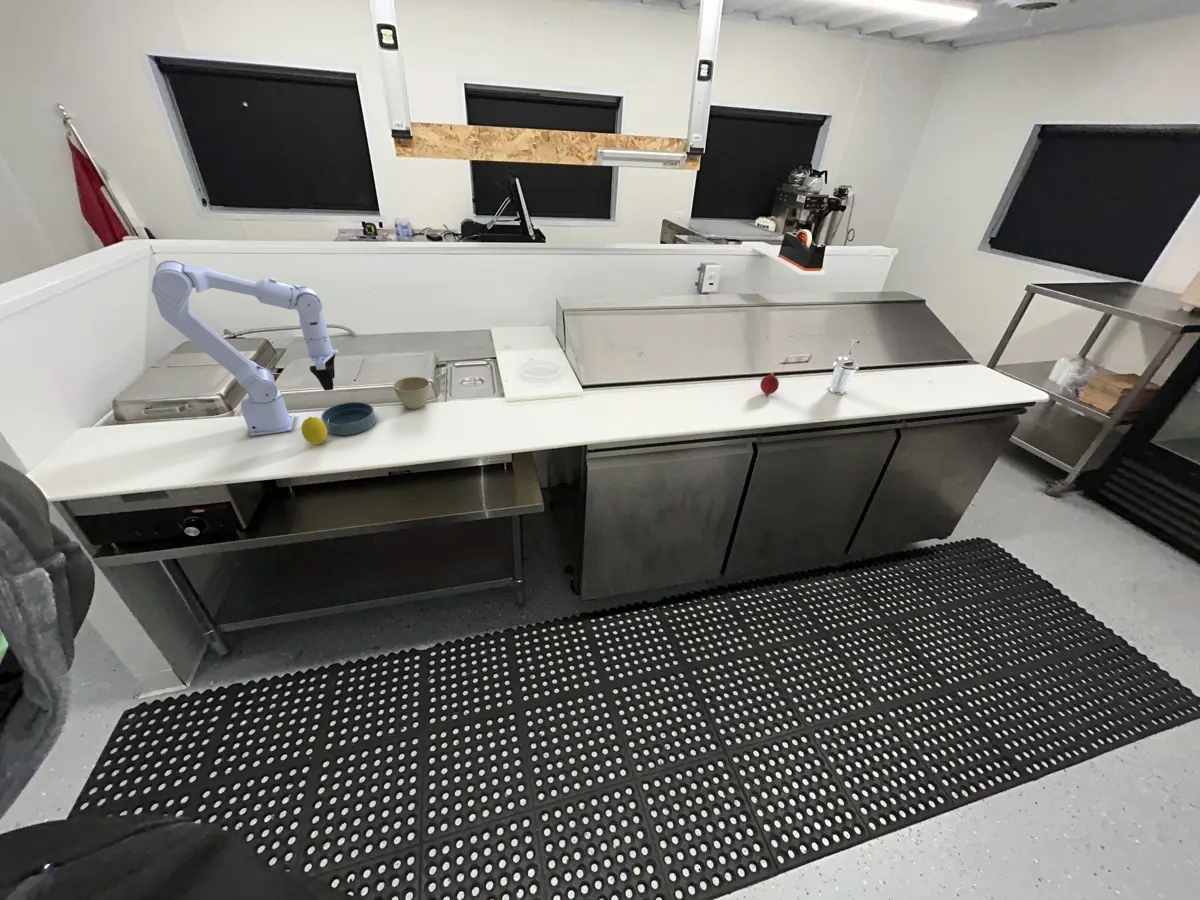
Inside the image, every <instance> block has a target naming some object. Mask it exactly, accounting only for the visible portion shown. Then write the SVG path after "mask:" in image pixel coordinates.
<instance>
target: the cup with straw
mask: <svg viewBox="0 0 1200 900" xmlns="http://www.w3.org/2000/svg"><path fill="white" fill-rule="evenodd" d="M855 343H857V344H859V343H860V341H859V340H858V339H857V338H853V339H852V341H851V344H850V347H849V350H848V352H843V353H841V354H839V355H838V356H837V357H836V358H834V359H833V360H832V365H833V370H832V371H833V372H832V378H831V381H830V385H829V387H830V388H829V391H830V392H831V393H833V394H837V395H843V394H844V392H845V391H846V389H847V387H848V385H849V383H850V381H851V380H852V377H853V376H854V374H855V373H856V371H857V370H859V369H860V363H859V360H858V357H857V356H856V355H855V354H853V353H852V351H853V348H854V345H855Z"/></svg>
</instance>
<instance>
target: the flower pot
mask: <svg viewBox="0 0 1200 900" xmlns="http://www.w3.org/2000/svg"><path fill="white" fill-rule="evenodd" d="M430 385H431V383H430V380H429V379H427V378H426V377H421V376H407V377H403V378H400V379H398V380H396V381H395V382H393V385H392V386H393V390H394V392H395V394H396V396H397V398H398V399H399V401H400V402H401V404H403V405H404V406H405V408H407V409H408V410H419V409H421V408H423V407H424V405H425V404H426V402H427V399H428V397H429V393H430Z"/></svg>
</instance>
